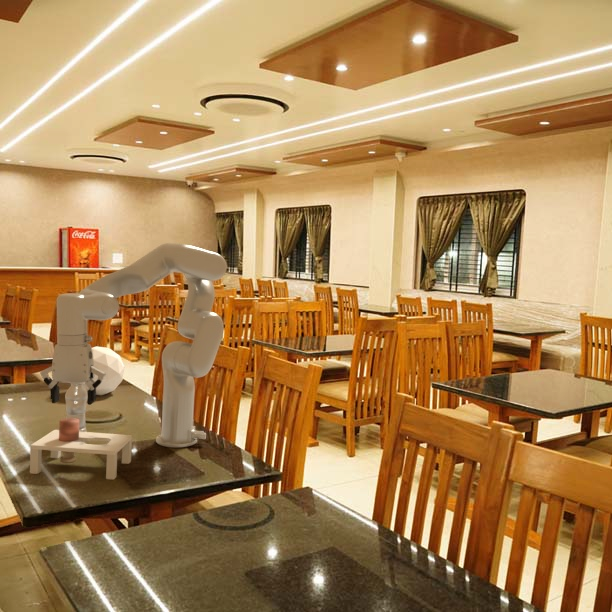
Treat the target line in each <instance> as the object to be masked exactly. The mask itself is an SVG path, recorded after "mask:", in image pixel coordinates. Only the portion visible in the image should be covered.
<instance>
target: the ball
mask: <svg viewBox="0 0 612 612" xmlns="http://www.w3.org/2000/svg"><path fill="white" fill-rule="evenodd" d="M91 348H92V352H93V359H94V367H95V368H97V369H99V370H101V371H103V372H104V373H106V375H105V377H104V379H103V381H102V383H101V384H100V385H99V386H98V387H97V388H96V396H104V395H106V394H109V393H111V392H114V391H115V390H116V388H117V387H118V386H119V385H120V384H121V383H122V382H123V380H124V374H125V373H124V372H125V364H124V362H123V359H122V357H121V355H120V354H118V353H117V352H115V351H114V350H112V349H111V348H109V347H105V346H94V347H91ZM97 379H98V376H97V375H96V374H95V376H94V378H93V380H94V381H95V382H96V381H97ZM83 386H84V387H85V389H86V390H87V391H88V390H89V388H88V386H87V385H86V384H85V383H84V384H83Z"/></svg>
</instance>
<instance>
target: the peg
mask: <svg viewBox="0 0 612 612" xmlns="http://www.w3.org/2000/svg"><path fill="white" fill-rule="evenodd" d="M58 422H59V423H58V424H59V426H58V430H59V440H60V441H63V442H74V441H76V440H78V439H79V419H75V418H66V417H65V418H62V419H60V420H59V421H58ZM62 452H63V454H62V455H61V456H60V457H59V460H60V462H59V463H62V464H71V463H74V462H76V461H77V456H76V455H74V453H75V452H66V451H62Z"/></svg>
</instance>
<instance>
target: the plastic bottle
mask: <svg viewBox="0 0 612 612" xmlns="http://www.w3.org/2000/svg"><path fill="white" fill-rule="evenodd" d="M83 384H84V383H69V385H70V386H69V388H68V389H67V390H66V392H65V394H64V396H65V397H64V398H65V406H66V407H65V408H66V410H65V411H66V414H65V419H66V418H75V419H79V431H80V432H87V426H86V425H87V424H86V411H87V405H88V394H87V390H86V389H85V387H84V386H83ZM74 442H84V443H85V441H74Z"/></svg>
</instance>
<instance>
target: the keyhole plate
mask: <svg viewBox="0 0 612 612" xmlns="http://www.w3.org/2000/svg"><path fill="white" fill-rule="evenodd" d="M76 441H84V442H63V441H60V440H59V429H53V430H52V431H50V432H49V433H47V434H45V435H43V437H41V438H40V439H38V440H36V441H35V442H33V443H32V444H30V448H29V449H30V454H29V456H30V457H29V474H32V475H33V474H35V475H38V474H39V473H41V472H42V453H43V452H42V451H50V458H51V459H60V458H61V457H62V452H63V451H66V452H74V453H79V454H80V453H82V454H94V455H106V471H105V473H106V474H105V480H115V479H116V478H117V471H118V470H117V469H118V452H120V451H121V464H130V463H131V462H132V450H133V449H132V447H133V446H132V445H133V435H131V434H119V433H118V434H117V433H108V432H107V433H106V432H105V433H104V432H90V431H86V432H80V431H79V439H78V440H76ZM86 442H87V443H86ZM88 442H89V443H88ZM90 442H91V444H90ZM92 442H105V444H92Z"/></svg>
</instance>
